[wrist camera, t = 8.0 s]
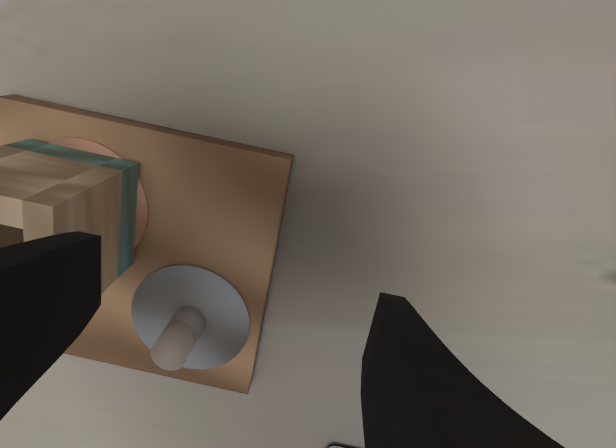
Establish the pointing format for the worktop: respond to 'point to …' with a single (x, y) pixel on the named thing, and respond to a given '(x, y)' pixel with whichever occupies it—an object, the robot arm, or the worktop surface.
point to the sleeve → (69, 199)
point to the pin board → (177, 243)
